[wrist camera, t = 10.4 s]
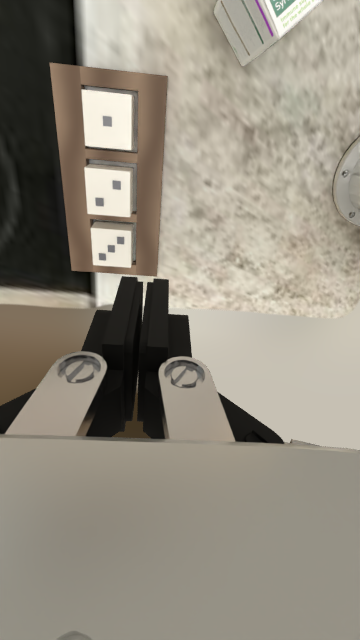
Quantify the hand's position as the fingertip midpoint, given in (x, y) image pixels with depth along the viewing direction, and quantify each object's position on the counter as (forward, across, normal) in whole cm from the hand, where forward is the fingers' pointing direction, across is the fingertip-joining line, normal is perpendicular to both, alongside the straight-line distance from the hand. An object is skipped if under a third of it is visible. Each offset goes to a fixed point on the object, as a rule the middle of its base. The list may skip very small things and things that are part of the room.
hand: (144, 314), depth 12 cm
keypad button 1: (+32, +6, -5) cm, 33 cm away
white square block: (+32, +6, +9) cm, 34 cm away
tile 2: (+31, +6, +2) cm, 32 cm away
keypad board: (+33, +6, +2) cm, 34 cm away
